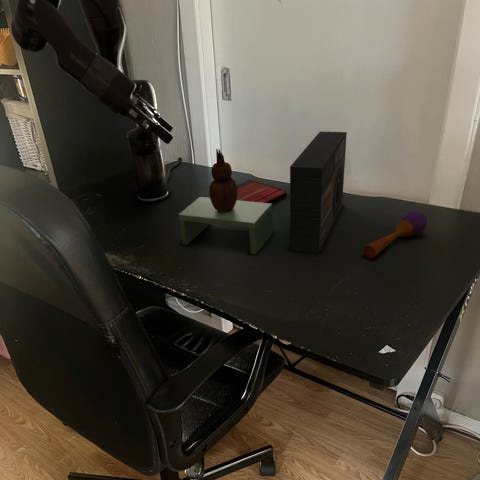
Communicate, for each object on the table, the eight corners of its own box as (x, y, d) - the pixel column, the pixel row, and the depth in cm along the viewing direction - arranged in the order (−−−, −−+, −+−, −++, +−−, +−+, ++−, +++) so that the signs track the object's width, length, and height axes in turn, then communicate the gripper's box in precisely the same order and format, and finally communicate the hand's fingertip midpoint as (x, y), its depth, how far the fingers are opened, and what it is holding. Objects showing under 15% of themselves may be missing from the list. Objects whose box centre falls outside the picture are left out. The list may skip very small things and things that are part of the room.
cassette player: (319, 253, 113) (321, 168, 102) (290, 250, 116) (290, 166, 104) (342, 206, 135) (346, 132, 124) (317, 204, 138) (319, 131, 126)
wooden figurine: (225, 216, 115) (219, 152, 106) (206, 211, 118) (200, 148, 109) (242, 206, 119) (238, 144, 110) (224, 202, 122) (219, 141, 113)
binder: (202, 199, 140) (248, 178, 153) (202, 206, 142) (248, 185, 154) (244, 213, 131) (289, 189, 144) (244, 221, 133) (289, 197, 145)
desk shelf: (203, 225, 131) (200, 196, 126) (272, 233, 124) (272, 203, 119) (182, 244, 122) (178, 214, 117) (255, 254, 115) (254, 223, 110)
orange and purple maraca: (357, 238, 110) (409, 205, 119) (360, 261, 112) (410, 228, 122) (378, 241, 105) (431, 207, 114) (381, 265, 108) (432, 231, 117)
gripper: (114, 73, 93) (182, 129, 101) (120, 64, 105) (180, 115, 112) (93, 106, 96) (160, 158, 103) (101, 93, 108) (161, 140, 115)
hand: (170, 135), depth 108 cm, fingers open, 8 cm apart
